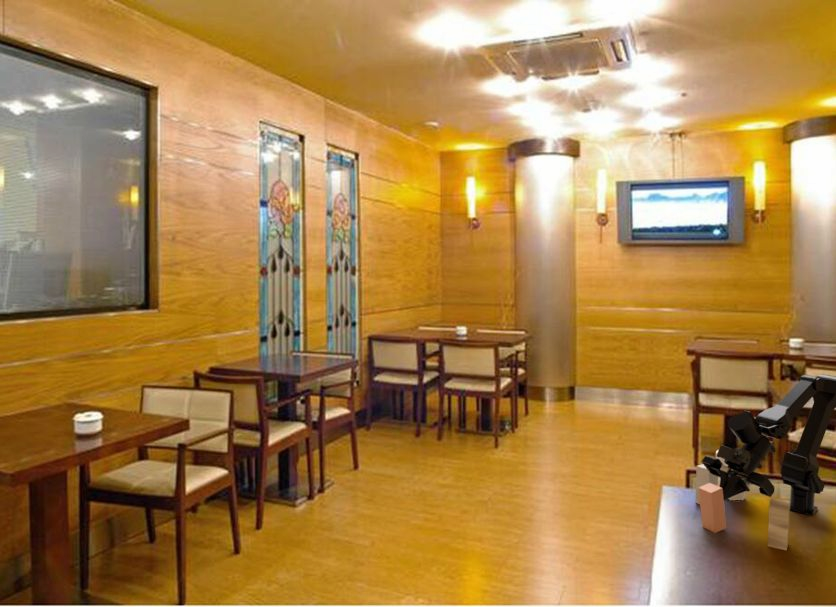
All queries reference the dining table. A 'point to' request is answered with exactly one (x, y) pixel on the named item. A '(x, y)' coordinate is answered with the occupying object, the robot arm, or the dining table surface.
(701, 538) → the dining table surface
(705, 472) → the grey post
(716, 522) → the terracotta block
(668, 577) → the dining table surface
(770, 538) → the birch post
